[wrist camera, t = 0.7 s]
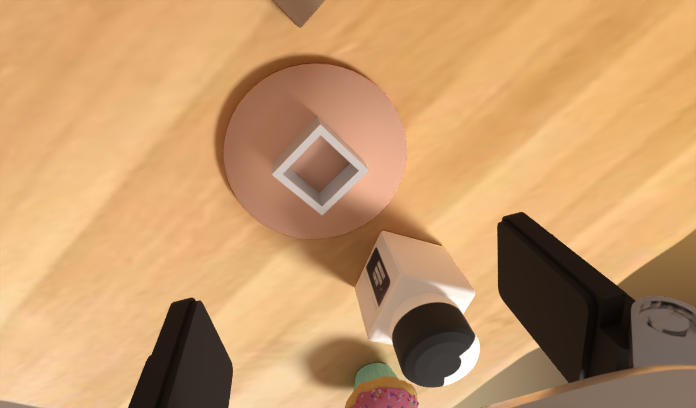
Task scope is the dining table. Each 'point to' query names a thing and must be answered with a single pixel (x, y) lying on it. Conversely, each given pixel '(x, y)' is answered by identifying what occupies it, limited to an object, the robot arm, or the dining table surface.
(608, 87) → the dining table surface
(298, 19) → the wooden square post
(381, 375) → the cupcake
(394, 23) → the dining table surface
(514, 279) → the robot arm
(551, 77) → the dining table surface
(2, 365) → the dining table surface
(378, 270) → the container
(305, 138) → the clip base
